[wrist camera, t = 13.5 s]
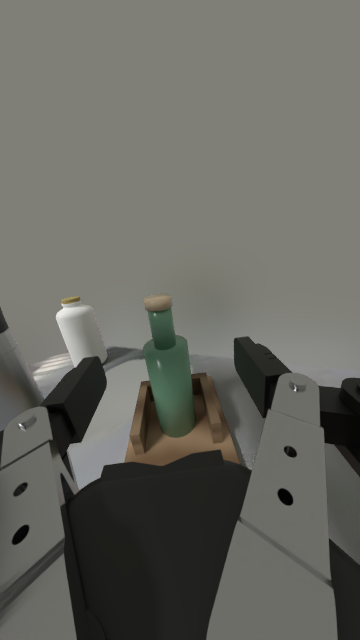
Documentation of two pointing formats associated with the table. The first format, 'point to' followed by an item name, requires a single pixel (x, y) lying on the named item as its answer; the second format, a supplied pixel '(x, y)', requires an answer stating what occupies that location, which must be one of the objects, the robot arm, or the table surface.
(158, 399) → the bottle
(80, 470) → the table surface
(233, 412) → the table surface
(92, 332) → the potion bottle
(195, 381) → the bottle rest
